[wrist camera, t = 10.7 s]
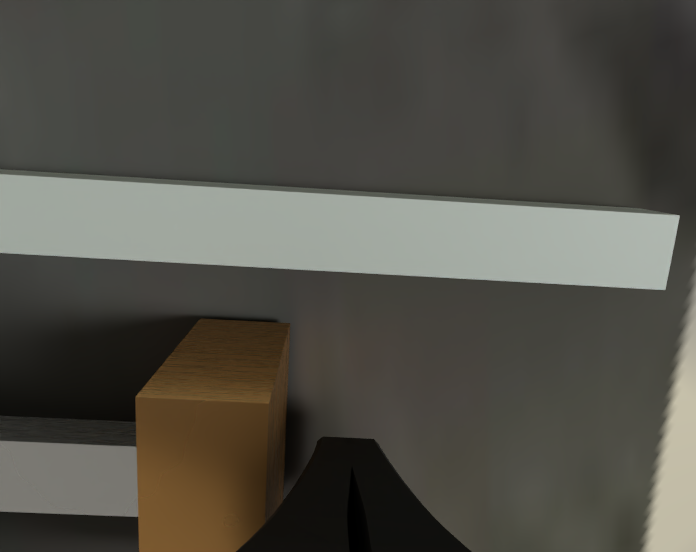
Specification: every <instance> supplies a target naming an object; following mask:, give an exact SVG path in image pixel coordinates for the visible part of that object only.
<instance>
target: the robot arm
mask: <svg viewBox="0 0 696 552" xmlns="http://www.w3.org/2000/svg"><path fill="white" fill-rule="evenodd" d="M236 552H471V551H470V550H469V549H468V548H466V547H465V546H464V545H463V544H462V543H461V542H460V541H459V540H457V539H456V538H455V537H454V536H453V535H452V534H451V533H450V532H449V531H447V530H446V529H445V528H444V527H443V526H442V525H441V524H440V523H439V522H438V521H437V520H436V519H435V518H434V517H433V516H432V515H431V514H430V512H429V511H428V510H427V509H426V508H425V507H424V506H423V505H422V503H421V502H420V501H419V500H418V499H417V498H416V496H415V495H414V494H413V493H412V491H411V490H410V489H409V487H408V486H407V485H406V484H405V482H404V481H403V480H402V479H401V477H400V476H399V474H398V473H397V472H396V470H395V469H394V467H393V466H392V465H391V463H390V462H389V460H388V459H387V457H386V456H385V454H384V453H383V451H382V449H381V448H380V446H379V444H378V443H377V442H376V441H375V440H374V439H361V438H340V437H322V438H321V439H320V440H318V441H317V445H316V448H315V451H314V453H313V455H312V457H311V459H310V461H309V463H308V465H307V466H306V468H305V470H304V471H303V473H302V475H301V476H300V478H299V479H298V481H297V482H296V484H295V486H294V487H293V488H292V490H291V491H290V493H289V494H288V495H287V497H286V498H285V499H284V500H283V502H282V503H281V504H280V506H279V507H278V508H277V510H276V511H275V512H274V513H273V514H272V516H271V517H270V518H269V519H268V520H267V521H266V522H265V524H264V525H263V526H262V527H261V528H260V529H259V530H258V531H257V532H256V533H255V534H254V535H253V536H252V537H251V538H250V539H249V540H248V541H247V542H246V543H245V544H244V545H243V546H241V547H240V548H239V549H238V550H237V551H236Z"/></svg>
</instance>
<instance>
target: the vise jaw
mask: <svg viewBox="0 0 696 552" xmlns="http://www.w3.org/2000/svg"><path fill="white" fill-rule="evenodd" d="M289 340H290V323H274V322H255V321H236V320H216V319H199V321H198V322H197V323H196V324H195V326H194V327H193V328H192V329H191V330H190V332H189V333H188V334H187V335H186V336H185V338H184V339H183V340H182V341H181V342H180V344H179V345H178V346H177V347H176V349H175V350H174V351H173V352H172V353H171V355H170V356H169V357H168V358H167V359H166V361H165V362H164V363H163V364H162V365H161V367H160V368H159V369H158V370H157V372H156V373H155V374H154V375H153V376H152V378H151V379H150V380H149V381H148V382H147V384H146V385H145V386H144V387H143V388H142V390H141V391H140V392H139V393H138V395H137V396H136V397H135V406H136V422H129V421H106V420H84V419H62V418H40V417H18V416H0V512H25V513H51V514H76V515H102V516H128V517H138V525H139V552H236V551H237V550H238V549H239V548H240V547H241V546H243V545H244V544H245V543H246V542H247V541H248V540H249V539H250V538H251V537H252V536H253V535H254V534H255V533H256V532H257V531H258V530H259V529H260V528H261V527H262V526H263V525H264V524H265V522H266V521H267V520H268V519H269V518H270V517H271V516H272V514H273V513H274V512H275V511H276V510H277V508H278V507H279V506H280V504H281V503H282V502H283V488H284V464H285V439H286V414H287V390H288V365H289Z"/></svg>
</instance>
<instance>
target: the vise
mask: <svg viewBox="0 0 696 552" xmlns="http://www.w3.org/2000/svg"><path fill="white" fill-rule="evenodd" d="M679 217H680V215H674V214H668V213H663V212H657V211H651V210H645V209H640V208H627V207H611V206H594V205H578V204H562V203H545V202H529V201H513V200H496V199H480V198H464V197H447V196H431V195H415V194H398V193H382V192H366V191H349V190H333V189H317V188H300V187H284V186H268V185H251V184H235V183H219V182H202V181H186V180H170V179H153V178H137V177H121V176H104V175H88V174H72V173H55V172H39V171H23V170H7V169H0V253H12V254H30V255H48V256H66V257H84V258H102V259H120V260H138V261H156V262H174V263H191V264H209V265H227V266H245V267H263V268H281V269H299V270H317V271H335V272H353V273H371V274H389V275H407V276H425V277H442V278H460V279H478V280H496V281H514V282H532V283H550V284H568V285H586V286H604V287H622V288H640V289H658V290H665V289H666V284H667V278H668V273H669V268H670V263H671V258H672V253H673V248H674V243H675V237H676V232H677V227H678V222H679Z"/></svg>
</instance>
